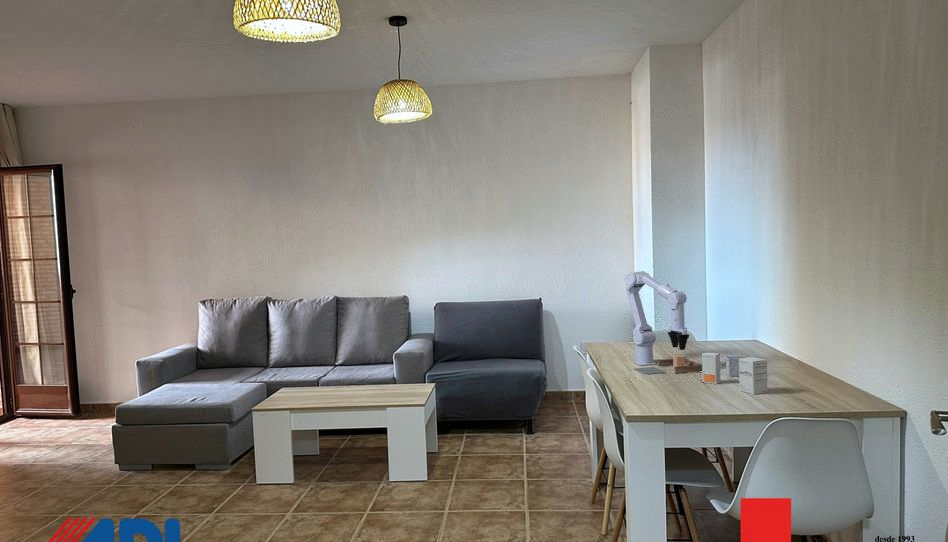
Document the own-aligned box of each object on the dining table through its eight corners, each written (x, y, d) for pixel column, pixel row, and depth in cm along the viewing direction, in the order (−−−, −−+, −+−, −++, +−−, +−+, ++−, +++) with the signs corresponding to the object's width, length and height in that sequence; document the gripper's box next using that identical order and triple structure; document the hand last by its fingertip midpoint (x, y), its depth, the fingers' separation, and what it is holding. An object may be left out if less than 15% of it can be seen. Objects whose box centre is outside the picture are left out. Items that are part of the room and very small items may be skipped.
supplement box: (738, 391, 267) (738, 358, 267) (753, 388, 270) (752, 356, 270) (753, 394, 260) (752, 361, 260) (768, 392, 263) (767, 359, 263)
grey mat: (633, 369, 319) (633, 368, 319) (654, 368, 320) (654, 366, 320) (644, 374, 306) (644, 373, 306) (666, 373, 307) (666, 372, 307)
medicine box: (745, 374, 297) (744, 354, 297) (748, 376, 293) (748, 356, 292) (726, 375, 298) (725, 355, 297) (729, 377, 293) (728, 356, 293)
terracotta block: (673, 368, 317) (672, 355, 316) (681, 368, 317) (681, 355, 317) (677, 370, 313) (676, 357, 312) (685, 369, 313) (685, 356, 313)
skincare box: (702, 382, 285) (701, 353, 284) (706, 381, 288) (705, 352, 287) (716, 384, 281) (715, 354, 280) (721, 382, 284) (720, 353, 283)
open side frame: (658, 366, 323) (658, 360, 323) (685, 364, 325) (684, 358, 325) (675, 373, 305) (675, 367, 305) (703, 371, 306) (703, 365, 306)
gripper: (693, 319, 307) (694, 350, 308) (679, 316, 322) (680, 345, 322) (678, 320, 306) (679, 351, 307) (664, 317, 321) (665, 346, 321)
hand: (678, 348), depth 314 cm, fingers open, 7 cm apart
